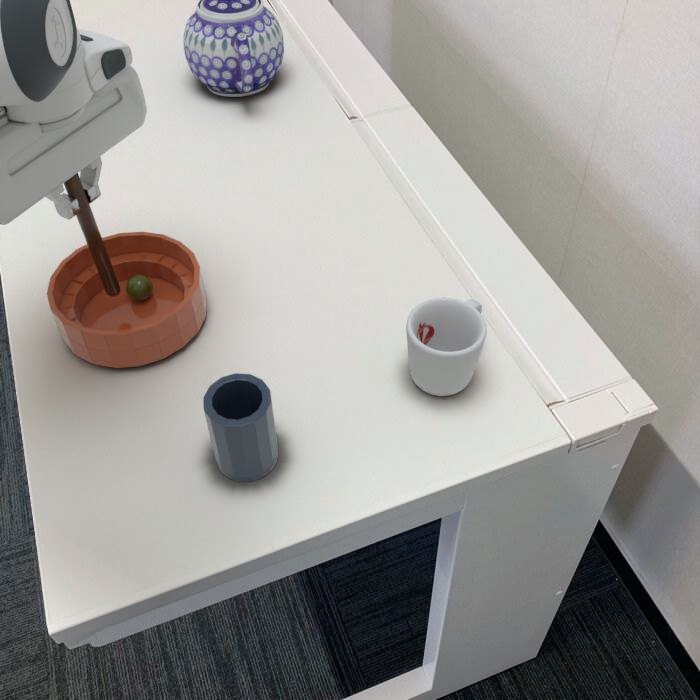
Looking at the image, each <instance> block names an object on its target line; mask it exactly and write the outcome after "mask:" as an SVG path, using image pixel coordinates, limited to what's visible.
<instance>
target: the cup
mask: <svg viewBox="0 0 700 700" xmlns="http://www.w3.org/2000/svg"><path fill="white" fill-rule="evenodd" d="M482 311H483V306H482V304H481V302H480V301H478V300H476V299H472V298H471V299H468V300H466V301H464V300H461V299H458V298H451V297H436V298H431V299H427V300H425V301H423V302H421V303H419V304H417V305H415V307H414V308H413V309H412V310H411V311H410V313H409V314H408V316H407V319H406V324H405V330H406V345H407V360H408V370H409V373H410V374H409V375H410V377H411V379H412V381H413V382H414V384H415V386H417V387H418V388H419V389H420V390H421V391H424V393H427V394H429V395H432V396H438V397H446V396H453V395H456V394H458V393H460V392H461V391H463V390H464V389H465V388H466V387H467V386H468V385H469V383H470V382H471V380H472V378H473V376H474V374H475V370H476V368H477V365H478V361H479V358H480V357H481V353H482V350H483V347H484V344H485V342H486V338H487V335H488V326H487V321H486V319H485V318H484V316H483V315H482Z"/></svg>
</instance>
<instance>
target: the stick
mask: <svg viewBox="0 0 700 700" xmlns="http://www.w3.org/2000/svg"><path fill="white" fill-rule="evenodd" d="M63 187H64V189H65V191H66V194H67V195H69V197H74V198H77V200H78V203H79V205H78V207H80V209H81V211H80V212H79V213H78V214H76V215H75V216H76V219H77V221H78V225H79V226H80V229H81V232H82V234H83V236H84V239H85V242H86V244H87V245H88V247H89V250H90V252H91V255H92V258H93V260H94V263H95V265H96V268H97V270H98V273H99V275H100V278H101V281H102V283H103V286H104V288H105V291H106V293H107V294H108V295H109V296H111V297H116V296H118V295H119V293H120V291H121V289H120V286H119V283H118V280H117V278H116V275H115V272H114V269H113V267H112V264H111V261H110V259H109V256H108V253H107V251H106V248H105V245H104V242H103V240H102V238H103V237H102V234H101V232H100V229H99V226H98V223H97V221H96V218H95V216H94V213H93V210H92V207H91V204H90V203H89V202H88V199H87V196H86V194H85V191H84V188H83V186H82V183H81V180H80V174H79V172H78V173H77V174H75V175H74V176H73V177H71V178H70V179H68V180H67V181H66V182H64V183H63Z"/></svg>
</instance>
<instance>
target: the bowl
mask: <svg viewBox="0 0 700 700" xmlns="http://www.w3.org/2000/svg"><path fill="white" fill-rule="evenodd" d="M102 240H103V242H104V245H105V248H106V251H107V253H108V256H109V259H110V261H111V264H112V267H113V269H114V272H115V275H116V278H117V280H118V283H119V286H120V289H121V291H120V293H119V295H118V296H116V297H111V296H109V295H108V294H107V293H106V291H105V288H104V286H103V283H102V281H101V278H100V275H99V273H98V270H97V268H96V265H95V263H94V260H93V258H92V255H91V252H90V250H89V247H88V245H87V243H86V244H84V245H83V246H80V247H78V248H76V249H75V250H74V251H73V252H71V253H70V254H69V255H68V256H66V257H65V258H64V259H62V260H61V262H60V263H59V264H58V266H57V267H56V269H55V270H54V271H53V273H52V274H51V276H50V278H49V281H48V286H47V290H46V297H47V302H48V304H49V310H50V311H51V314H52V317H53V318H54V321H55V323H56V326H57V329H58V330H59V333H60V336H61V338H62V340H63V343H64V344H65V345H66V346H67V347H68V349H70V351H71V352H72V353H73V354H74V355H75V356H77V357H79V358H80V359H83V360H84V361H86V362H89V364H90V363H91V364H92V365H96V366H102V367H109V368H114V369H115V368H116V369H121V368H122V369H123V368H135V367H143V366H145V365H148V364H152V363H155V362H158V361H161V360H164V359H165V358H168V357H169V356H171V355H172V354H175V353H176V352H178V351H179V350H181V349H183V348H184V347H185V346H186V345H188V344H189V342H190V341H191V340H193V338H194V337H195V336H196V335H197V334H198V333H199V331H200V330H201V327H202V325H203V324H204V321H205V319H206V318H207V300H208V299H207V296H206V290H205V286H204V281H203V276H202V271H201V266H200V263H199V262H198V259H197V257H196V255H195V253H194V252H193V251H192V250H191V249H190V248H189V247H188V246H186V245H185V244H184V243H183V242H182V241H180V240H177V239H176V238H173V237H171V236H168V235H166V234H164V233H156V232H148V231H131V232H120V233H119V232H118V233H115V234H112V235H108V236H104V237H102ZM134 275H144V276H146V277H148V278H149V279H150V281H151V282H152V285H153V290H152V293H151V295H150V296H149V297H148V298H147V299H145V300H142V301H137V300H134V299H132V298H130V297H129V296H128V294H127V292H126V283H127V281H128V279H129V278H130V277H132V276H134Z"/></svg>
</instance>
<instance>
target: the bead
mask: <svg viewBox="0 0 700 700" xmlns="http://www.w3.org/2000/svg"><path fill="white" fill-rule="evenodd" d="M152 290H153V285H152V282H151V281H150V279H149V278H148V277H146V276H144V275H134V276H132V277H130V278H129V279H128V281H127V283H126V292H127V294H128V296H129V297H130V298H132V299H134V300H137V301H142V300H145V299H147V298H148V297H149V296H150V295H151V293H152Z"/></svg>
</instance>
